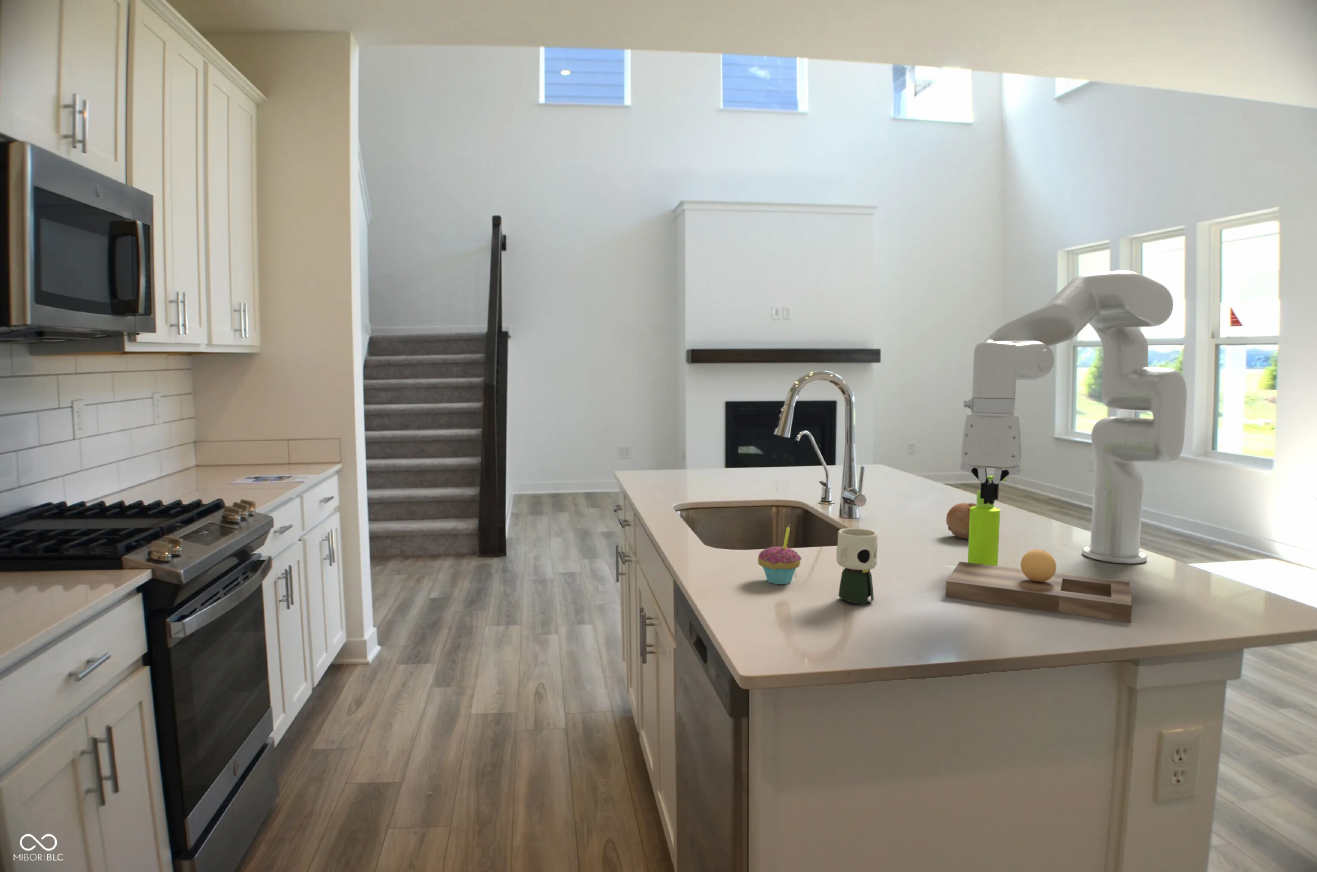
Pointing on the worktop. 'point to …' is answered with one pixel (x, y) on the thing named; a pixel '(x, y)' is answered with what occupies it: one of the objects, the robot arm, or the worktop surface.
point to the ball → (1038, 565)
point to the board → (1042, 591)
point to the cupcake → (779, 562)
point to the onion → (959, 520)
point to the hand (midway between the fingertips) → (989, 502)
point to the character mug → (857, 563)
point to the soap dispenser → (984, 532)
